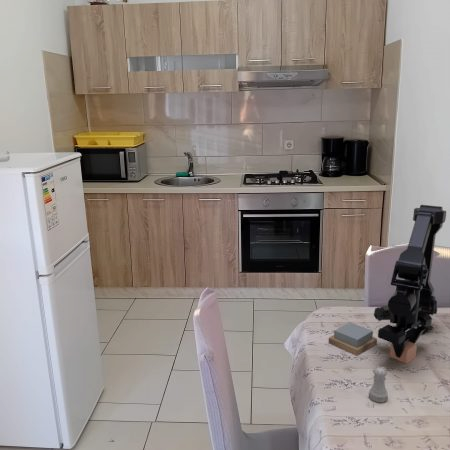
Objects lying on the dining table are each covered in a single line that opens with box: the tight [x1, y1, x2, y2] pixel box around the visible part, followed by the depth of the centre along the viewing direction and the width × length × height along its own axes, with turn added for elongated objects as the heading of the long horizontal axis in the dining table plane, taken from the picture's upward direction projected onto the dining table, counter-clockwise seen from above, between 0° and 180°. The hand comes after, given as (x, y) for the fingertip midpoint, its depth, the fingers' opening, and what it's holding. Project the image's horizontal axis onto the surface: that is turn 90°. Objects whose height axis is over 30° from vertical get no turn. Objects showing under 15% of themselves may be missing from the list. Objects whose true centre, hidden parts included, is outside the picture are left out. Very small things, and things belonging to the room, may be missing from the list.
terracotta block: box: [389, 341, 418, 364], centre depth 132 cm, size 5×5×4 cm
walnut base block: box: [328, 334, 378, 357], centre depth 140 cm, size 10×10×2 cm
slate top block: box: [333, 321, 374, 348], centre depth 140 cm, size 8×8×2 cm
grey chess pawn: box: [368, 365, 389, 404], centre depth 114 cm, size 4×4×8 cm
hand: (403, 353), depth 132 cm, fingers closed on terracotta block, 5 cm apart
